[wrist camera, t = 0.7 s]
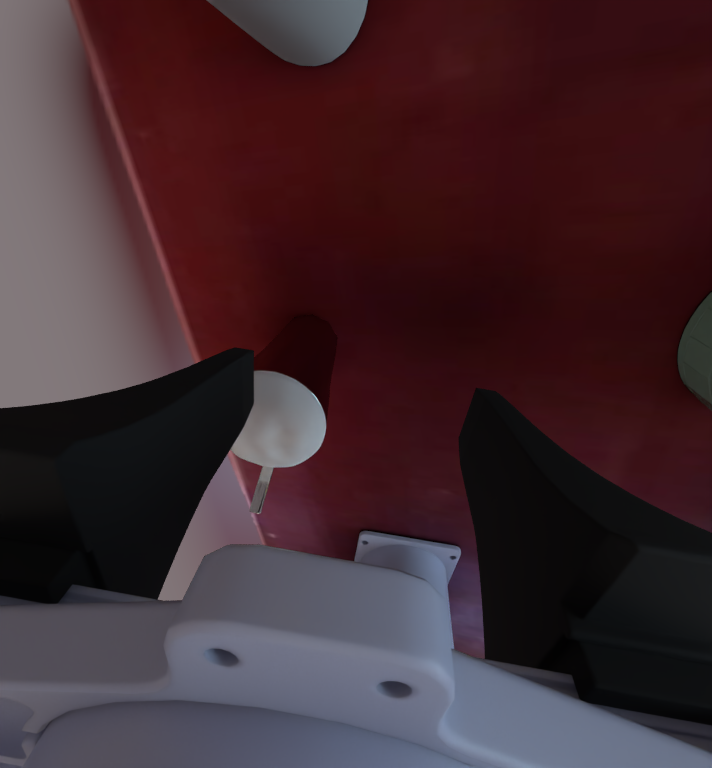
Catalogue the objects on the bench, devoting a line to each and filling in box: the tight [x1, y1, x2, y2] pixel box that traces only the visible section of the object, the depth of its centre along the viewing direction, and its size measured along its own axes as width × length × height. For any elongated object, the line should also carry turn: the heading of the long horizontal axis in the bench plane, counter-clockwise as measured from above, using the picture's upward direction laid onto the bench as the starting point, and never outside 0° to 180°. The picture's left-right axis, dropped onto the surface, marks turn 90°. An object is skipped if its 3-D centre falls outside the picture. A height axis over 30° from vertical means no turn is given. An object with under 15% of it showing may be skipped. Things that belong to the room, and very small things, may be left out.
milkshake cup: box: [231, 314, 338, 513], centre depth 18 cm, size 5×5×10 cm
